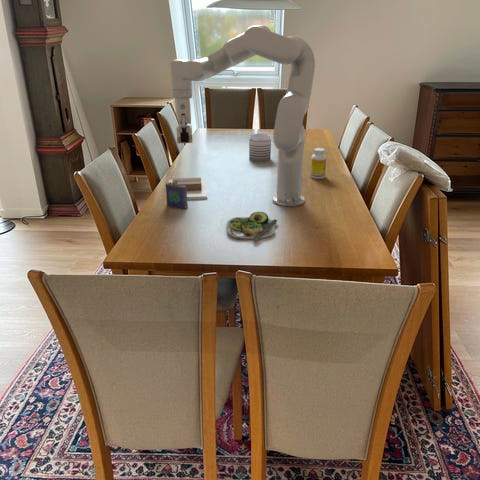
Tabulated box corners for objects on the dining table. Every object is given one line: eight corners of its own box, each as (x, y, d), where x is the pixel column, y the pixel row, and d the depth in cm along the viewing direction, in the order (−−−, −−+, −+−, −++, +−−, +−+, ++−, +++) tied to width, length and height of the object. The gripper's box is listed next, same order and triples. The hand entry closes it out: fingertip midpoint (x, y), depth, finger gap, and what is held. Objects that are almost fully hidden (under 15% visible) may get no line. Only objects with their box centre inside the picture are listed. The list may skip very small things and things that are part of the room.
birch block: (192, 142, 185) (191, 127, 183) (177, 143, 185) (176, 128, 182) (192, 140, 190) (191, 125, 187) (177, 140, 189) (176, 125, 186)
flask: (189, 207, 179) (187, 181, 174) (184, 210, 177) (183, 183, 172) (169, 203, 183) (167, 177, 178) (165, 206, 180) (162, 179, 176)
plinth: (201, 190, 193) (201, 183, 191) (172, 191, 192) (172, 184, 190) (201, 184, 200) (200, 177, 198) (173, 185, 199) (172, 178, 197)
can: (271, 156, 242) (272, 133, 236) (270, 163, 231) (271, 139, 226) (249, 156, 243) (249, 133, 237) (247, 162, 233) (247, 138, 227)
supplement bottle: (324, 179, 208) (326, 151, 202) (309, 178, 209) (311, 150, 203) (325, 175, 214) (327, 147, 208) (310, 174, 215) (312, 147, 209)
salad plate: (280, 245, 150) (280, 232, 148) (225, 245, 150) (224, 232, 148) (276, 221, 168) (277, 209, 166) (227, 221, 168) (227, 209, 166)
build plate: (207, 198, 187) (207, 196, 187) (167, 200, 186) (167, 197, 185) (205, 181, 207) (205, 178, 206) (169, 182, 205) (168, 180, 205)
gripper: (192, 96, 172) (194, 145, 180) (191, 90, 187) (194, 135, 195) (171, 97, 171) (175, 146, 179) (173, 90, 186) (176, 135, 194)
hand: (184, 140), depth 187 cm, fingers closed on birch block, 4 cm apart
